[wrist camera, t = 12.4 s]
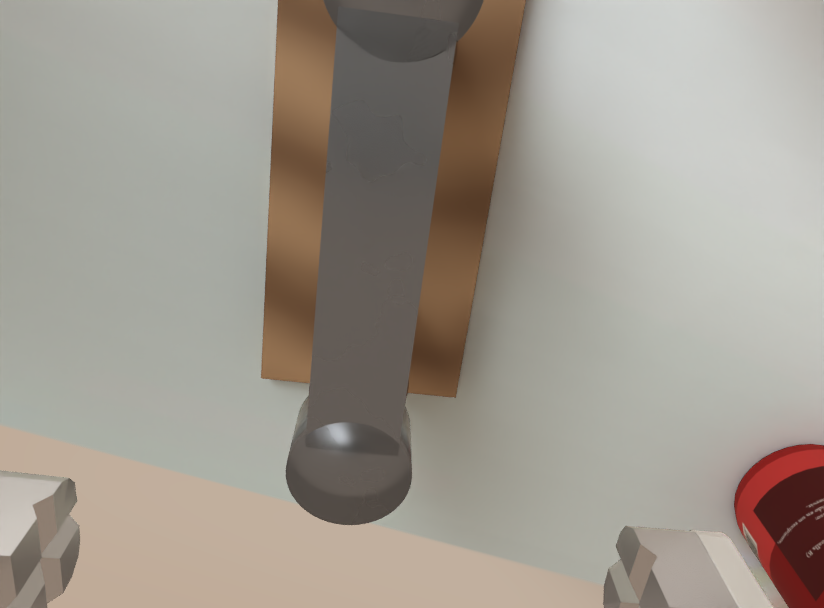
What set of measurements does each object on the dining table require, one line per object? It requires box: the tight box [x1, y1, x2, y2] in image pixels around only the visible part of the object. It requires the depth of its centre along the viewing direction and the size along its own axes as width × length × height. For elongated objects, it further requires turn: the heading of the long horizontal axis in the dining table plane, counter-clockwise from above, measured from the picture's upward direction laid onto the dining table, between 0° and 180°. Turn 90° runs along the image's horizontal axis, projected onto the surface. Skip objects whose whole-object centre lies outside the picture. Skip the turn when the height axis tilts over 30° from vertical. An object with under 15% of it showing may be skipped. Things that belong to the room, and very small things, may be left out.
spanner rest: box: [261, 0, 526, 398], centre depth 28 cm, size 22×10×9 cm, turn 173°
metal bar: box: [286, 0, 484, 525], centre depth 22 cm, size 20×4×3 cm, turn 173°
